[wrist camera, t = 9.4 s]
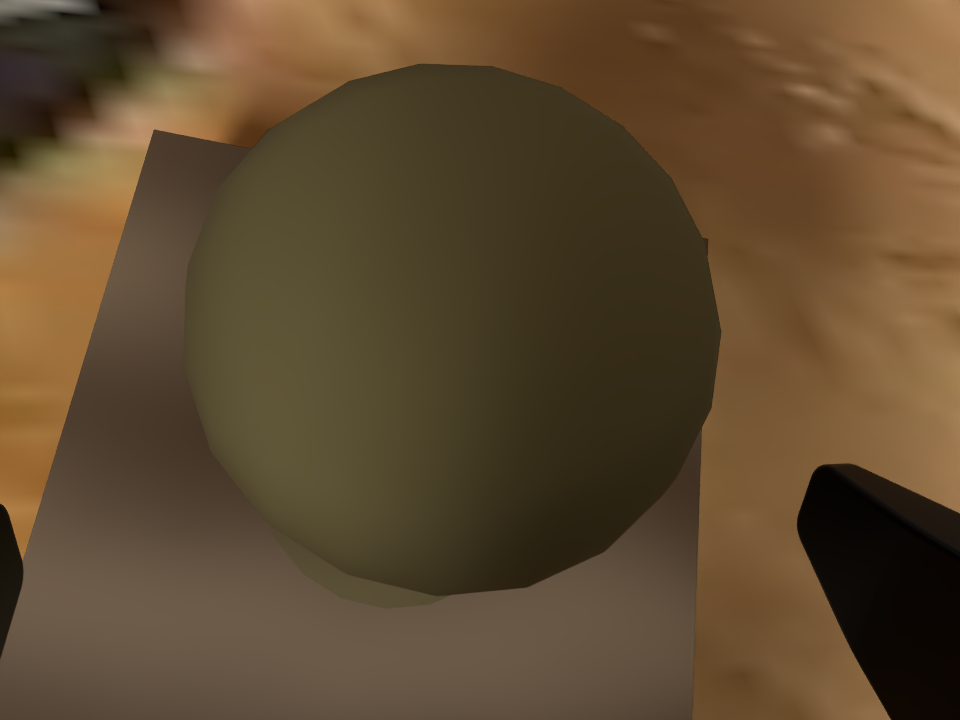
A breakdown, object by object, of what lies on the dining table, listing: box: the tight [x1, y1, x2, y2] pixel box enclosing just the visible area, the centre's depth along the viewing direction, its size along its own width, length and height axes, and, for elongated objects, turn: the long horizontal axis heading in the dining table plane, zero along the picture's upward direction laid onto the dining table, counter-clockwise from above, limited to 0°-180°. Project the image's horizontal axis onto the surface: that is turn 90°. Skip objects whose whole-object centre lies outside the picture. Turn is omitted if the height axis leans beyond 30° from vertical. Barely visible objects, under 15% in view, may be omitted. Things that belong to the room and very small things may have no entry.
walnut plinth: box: [0, 130, 708, 720], centre depth 18 cm, size 14×14×4 cm
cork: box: [183, 64, 721, 609], centre depth 11 cm, size 6×6×11 cm
